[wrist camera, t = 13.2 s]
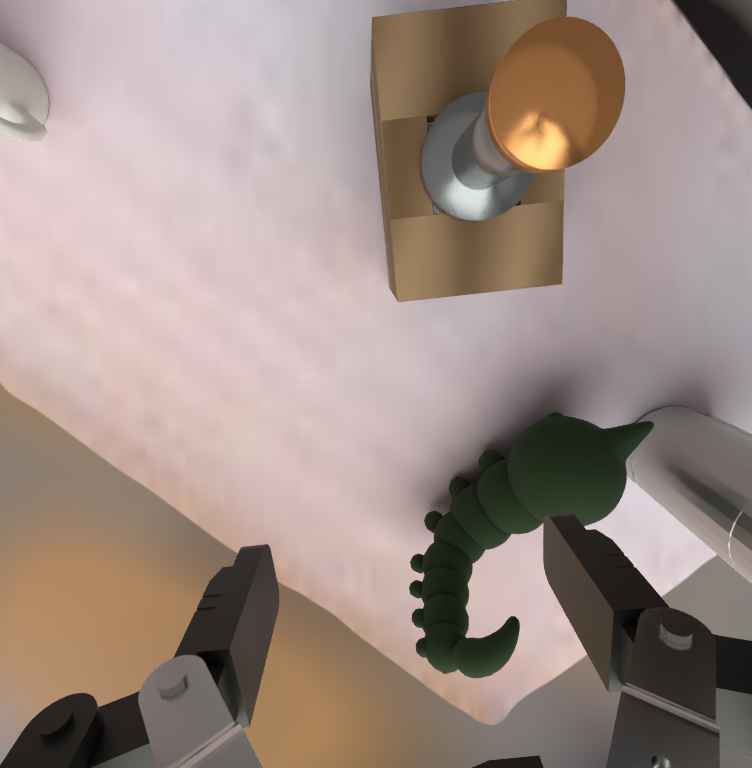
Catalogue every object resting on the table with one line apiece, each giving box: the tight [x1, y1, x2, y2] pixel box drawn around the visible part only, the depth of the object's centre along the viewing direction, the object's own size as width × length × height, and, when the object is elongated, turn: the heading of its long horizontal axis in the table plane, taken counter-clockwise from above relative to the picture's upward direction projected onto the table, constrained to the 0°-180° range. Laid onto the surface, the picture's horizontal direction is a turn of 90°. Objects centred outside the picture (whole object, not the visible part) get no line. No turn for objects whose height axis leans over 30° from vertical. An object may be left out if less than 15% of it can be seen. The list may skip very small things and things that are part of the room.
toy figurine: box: [409, 412, 654, 678], centre depth 37 cm, size 9×19×25 cm
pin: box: [420, 17, 625, 222], centre depth 25 cm, size 7×7×20 cm
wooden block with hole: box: [370, 0, 567, 302], centre depth 33 cm, size 11×16×11 cm
